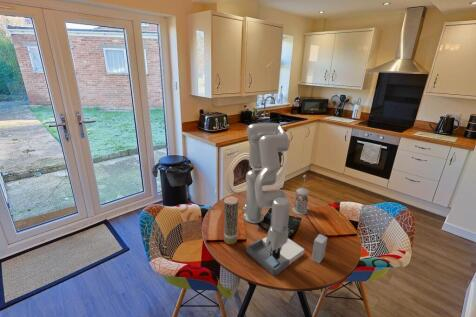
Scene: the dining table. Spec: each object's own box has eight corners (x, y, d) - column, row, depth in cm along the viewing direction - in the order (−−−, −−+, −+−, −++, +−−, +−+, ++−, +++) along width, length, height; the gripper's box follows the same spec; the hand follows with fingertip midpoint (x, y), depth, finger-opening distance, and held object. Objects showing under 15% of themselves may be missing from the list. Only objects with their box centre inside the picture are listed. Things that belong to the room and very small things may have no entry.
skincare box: (315, 252, 123) (319, 233, 118) (324, 256, 120) (328, 237, 116) (310, 259, 118) (314, 239, 114) (319, 264, 116) (323, 243, 111)
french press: (309, 214, 154) (315, 179, 144) (291, 214, 154) (295, 178, 145) (306, 206, 163) (311, 172, 154) (288, 205, 163) (292, 171, 154)
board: (261, 244, 128) (261, 239, 126) (276, 235, 135) (277, 230, 134) (288, 265, 115) (288, 260, 114) (303, 253, 122) (304, 249, 121)
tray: (246, 252, 122) (246, 246, 121) (260, 243, 128) (260, 238, 127) (274, 276, 108) (274, 270, 107) (288, 266, 114) (289, 260, 113)
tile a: (272, 255, 116) (271, 259, 117) (264, 260, 113) (264, 264, 114) (280, 262, 113) (279, 266, 113) (272, 267, 110) (272, 271, 111)
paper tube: (239, 239, 131) (240, 198, 122) (232, 246, 125) (233, 205, 116) (228, 234, 134) (229, 195, 125) (221, 242, 128) (221, 201, 119)
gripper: (283, 214, 114) (280, 245, 121) (261, 226, 106) (258, 259, 112) (296, 222, 109) (292, 254, 116) (273, 236, 100) (270, 270, 107)
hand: (275, 257), depth 114 cm, fingers closed
